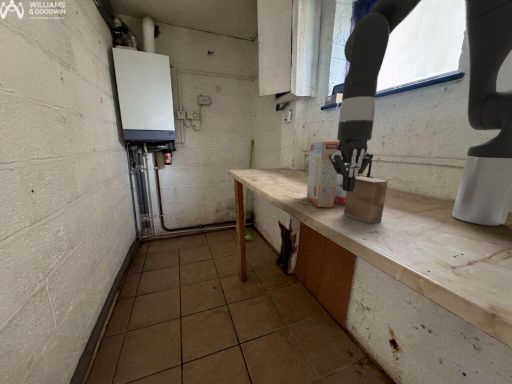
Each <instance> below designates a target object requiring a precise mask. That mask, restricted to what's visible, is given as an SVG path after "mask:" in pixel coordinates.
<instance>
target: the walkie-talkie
mask: <svg viewBox="0 0 512 384" xmlns="http://www.w3.org/2000/svg"><path fill="white" fill-rule="evenodd" d="M372 164H373V160H371V161H370V163H369V164H368V169H367V172H366V175H363V176H362V177H367V178H373V179H375V178H374V177H373V176H371V171H372Z"/></svg>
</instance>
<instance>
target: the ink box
mask: <svg viewBox="0 0 512 384" xmlns="http://www.w3.org/2000/svg"><path fill="white" fill-rule="evenodd" d="M342 182H343V176H342V175H341V174H337V182H336V191H335V200H334V203H336V204H338V205H345V201H346V193H347V191H343V189H342Z"/></svg>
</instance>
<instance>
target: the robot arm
mask: <svg viewBox="0 0 512 384" xmlns="http://www.w3.org/2000/svg"><path fill="white" fill-rule="evenodd" d="M421 2H422V0H378V1H377V3H376V4H375V5H374V7H373V8H372V10H371V11H370V12H369V13H368V14H366V15H364V16H363V17H362V18H361V19H360V20H359V21H358V22H357V23H356V25H355V26H354V27H353V30H352V31H351V33H350V35H349V36H348V38H347V40H346V42H345V44H344V51H343V52H344V58H345V59H346V61H347V62H348V63H349V68H348V71H347V73H346V76H345V78H344V81H343V86H342V96H341V104H340V105H341V106H340V109H339V117H338V125H337V127H338V128H337V138H336V139H337V141H338V142H339V145H338V147H337V151H336V152H335V153H334V154H330V155H329V159H330V161H331V163H332V165H333V167H334V169H335V171H336V172H337V174H341V175H342V176H343V182H342V189H343V191H347V192H350V191H353V190H354V187H355V178H356V177H358V175H363V173H364V172H365V170H366V169H367V167H369V163H370V161H371V160H372V159H373V158H374V154H373V153H369V151H368V141H371V139H372V135H373V130H374V129H373V127H374V121H375V113H376V99H377V97H376V96H377V89H378V83H379V82H378V80H379V79H378V78H379V74H380V71H381V68H382V66H383V62H384V59H385V56H386V52H387V48H388V46H389V45H388V44H389V40H390V35H391V34H392V32H393V31H394V30H395V29H396V28H397V27H398V26H399V25H400V24H401V23H402V22H404V20H405V19H406V18H407V17H408V16H409V15H410V14H412V12H413V11H414V10H415V8H416V7H417V6H419V4H420V3H421ZM464 7H465V8H464V9H465V10H464V11H465V13H464V15H465V31H466V32H465V35H466V43H467V53H468V71H469V73H468V74H469V75H468V76H469V77H468V78H469V79H468V100H467V120H468V123H469V126H470V127H471V128H472V129H473V130H475V131H492V130H493V131H494V130H495V131H497V130H500V132H499V133H498V134H497V135H496V136H494V137H493V138H491V139H489V140H486V141H483V142H478V143H475V144H471V145H470V146H469V147H468V149H467V150H468V151H467V154H466V158H465V161H464V166H463V170H462V174H461V177H460V181H459V186H458V189H457V195H456V198H455V203H454V206H453V210H452V215H451V216H452V217H453V218H455V219H458V220H459V221H464V222H466V223H471V224H476V225H477V224H478V225H483V226H496V227H497V226H500V225H505V223H506V220H507V217H508V214H509V212H510V208H511V205H512V88H511V89H503V90H499V91H498V90H497V81H498V76H499V75H498V74H499V72H500V69H501V67H502V65H503V64H504V61H505V60H506V59H507V57H508V56H509V54H510V53H511V52H512V0H464ZM372 161H373V160H372Z"/></svg>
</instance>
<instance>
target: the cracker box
mask: <svg viewBox="0 0 512 384" xmlns="http://www.w3.org/2000/svg"><path fill="white" fill-rule="evenodd" d="M338 145H339V141H336V140H335V141H329V140H328V141H321V140H320V141H311V142H310V152H309V163H308V165H309V166H308V179H307V189H306V198H307V199H308V200H309V201H310V202H312V204H314V206H315V207H317V208H332V209H333V208H334V206H335V201H334V200H335V191H336V182H337V172H336V171H335V169H334V167H333V165H332V163H331V161H330V159H329V155H330V154H334V153H335V152H336V151H337V147H338Z"/></svg>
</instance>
